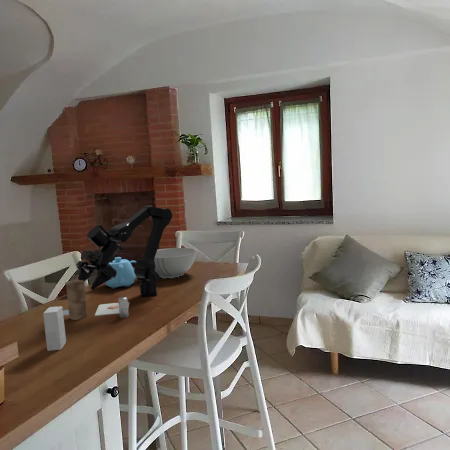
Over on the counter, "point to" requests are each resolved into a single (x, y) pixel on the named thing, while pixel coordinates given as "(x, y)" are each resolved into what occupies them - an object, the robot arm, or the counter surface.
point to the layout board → (103, 309)
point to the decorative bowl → (173, 261)
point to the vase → (75, 277)
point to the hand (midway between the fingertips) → (84, 287)
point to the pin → (123, 307)
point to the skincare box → (54, 328)
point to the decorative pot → (122, 273)
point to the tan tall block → (76, 299)
